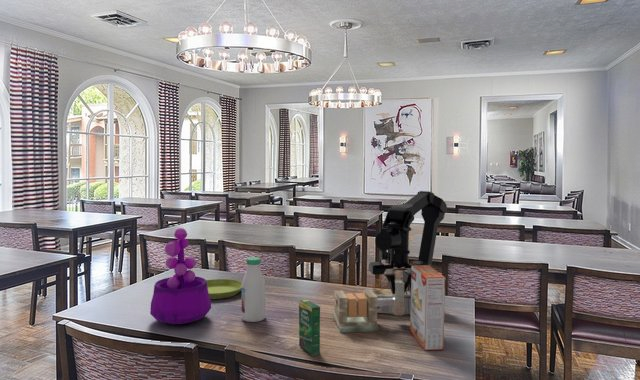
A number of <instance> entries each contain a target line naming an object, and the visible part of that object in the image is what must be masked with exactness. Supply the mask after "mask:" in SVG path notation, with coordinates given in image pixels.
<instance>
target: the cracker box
mask: <svg viewBox="0 0 640 380" xmlns="http://www.w3.org/2000/svg"><path fill="white" fill-rule="evenodd" d="M432 267H433V266H432ZM432 267H430V266H429V265H413V266H411V315H409V316H410V320H409V321H410V323H409V325H410V326H409V327H410V328H409V330H410V332H411V334H412V336H413V337H414V338H415V340H416V341H417V342H418V344H419V345H420V347H421V348H422V349H423V351H442V350H444V345H445V343H444V340H445V339H444V337H445V304H446V303H445V302H446V277H445V276H444V275H442V274H441V273H440V272H438V271H437V270H436V269H435V268H434V267H433V268H432Z"/></svg>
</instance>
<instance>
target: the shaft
mask: <svg viewBox="0 0 640 380" xmlns="http://www.w3.org/2000/svg"><path fill="white" fill-rule="evenodd" d="M404 285H405V283H404V282H403V279H402V280H400V279H398V280H397V279H395V292H394V294H392V298H378V299H377V306H392V313H393V314H392V315H394V316H404V315H405V314H404ZM347 307H348V303H347ZM356 307H358V301H357V303H356Z"/></svg>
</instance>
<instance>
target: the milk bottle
mask: <svg viewBox="0 0 640 380" xmlns="http://www.w3.org/2000/svg"><path fill="white" fill-rule="evenodd" d="M261 263H262V259H261V257H257V256H256V257H255V256H253V257H252V256H251V257H247V258H246V272H245V273H244V276H243V279H242V281H241V282H242V289H241V320H242V321H244V322H246V323H247V322H248V323H258V322H261V321H264V320H265V318H266V281H265V278H264V274H263V273H262V270H261V265H262V264H261Z"/></svg>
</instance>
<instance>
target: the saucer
mask: <svg viewBox="0 0 640 380" xmlns="http://www.w3.org/2000/svg"><path fill="white" fill-rule="evenodd" d="M205 280H206V281H207V287H208V293H209V296H210V300H220V299H221V300H222V299H228V298H232V297H233V296H236V295H237V294H239V293H240V292H241V291H242V281H240V280H236V279H231V278H230V279H229V278H228V279H227V278H216V279H215V278H214V279H213V278H212V279H205Z"/></svg>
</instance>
